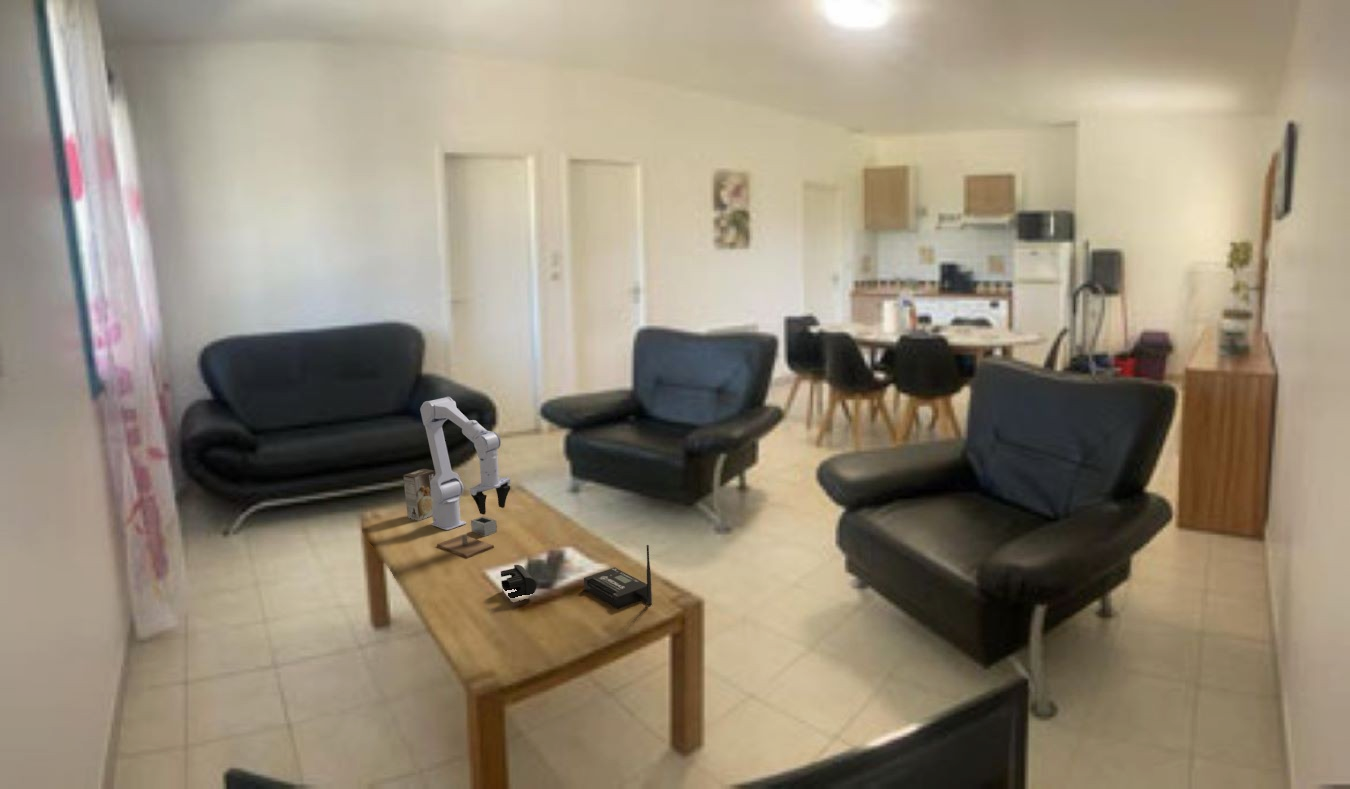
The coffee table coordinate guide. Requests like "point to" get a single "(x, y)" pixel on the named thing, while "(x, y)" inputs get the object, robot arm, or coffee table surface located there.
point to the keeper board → (465, 546)
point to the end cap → (518, 582)
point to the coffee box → (418, 493)
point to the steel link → (483, 526)
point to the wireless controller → (619, 587)
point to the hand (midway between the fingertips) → (492, 510)
